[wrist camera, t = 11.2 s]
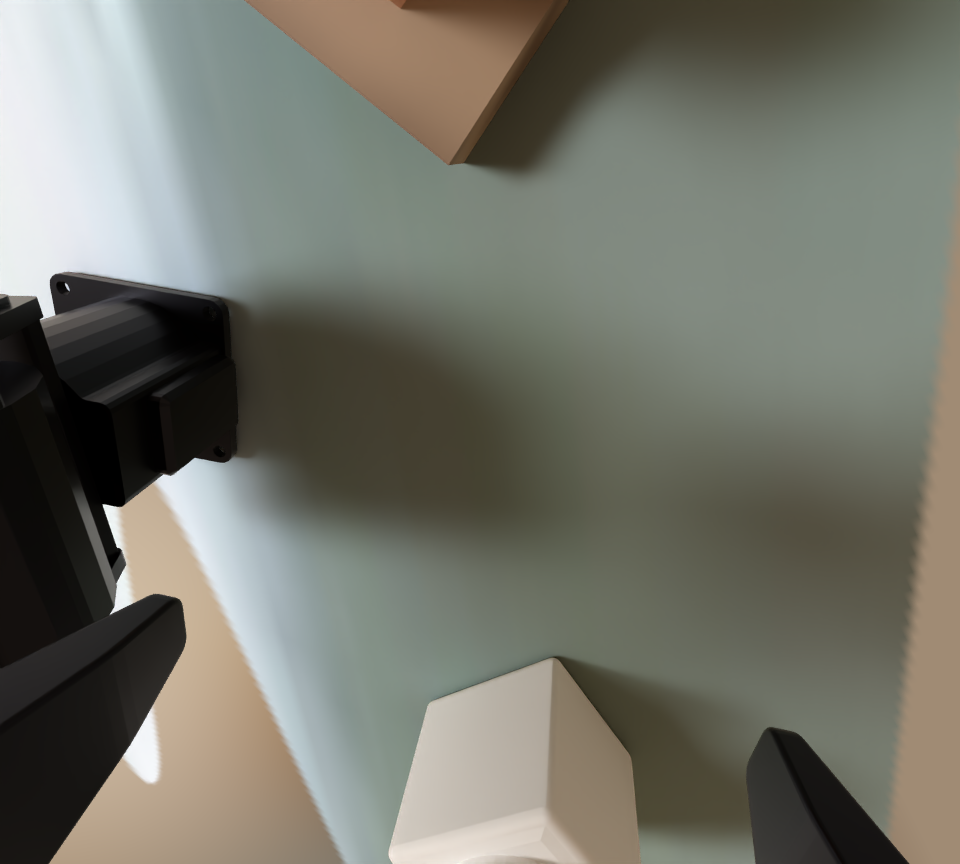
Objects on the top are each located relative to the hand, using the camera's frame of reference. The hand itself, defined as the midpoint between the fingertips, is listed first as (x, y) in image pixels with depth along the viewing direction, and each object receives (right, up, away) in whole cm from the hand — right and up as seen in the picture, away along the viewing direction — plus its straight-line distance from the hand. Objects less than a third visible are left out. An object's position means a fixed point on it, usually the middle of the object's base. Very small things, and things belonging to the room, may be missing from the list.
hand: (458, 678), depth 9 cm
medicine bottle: (+3, -10, +19) cm, 22 cm away
